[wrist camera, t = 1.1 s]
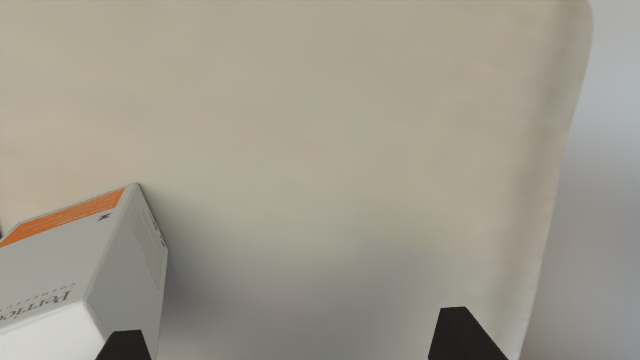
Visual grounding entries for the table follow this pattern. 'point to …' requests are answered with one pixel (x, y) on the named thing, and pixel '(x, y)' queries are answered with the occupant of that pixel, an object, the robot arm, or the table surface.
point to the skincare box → (82, 279)
